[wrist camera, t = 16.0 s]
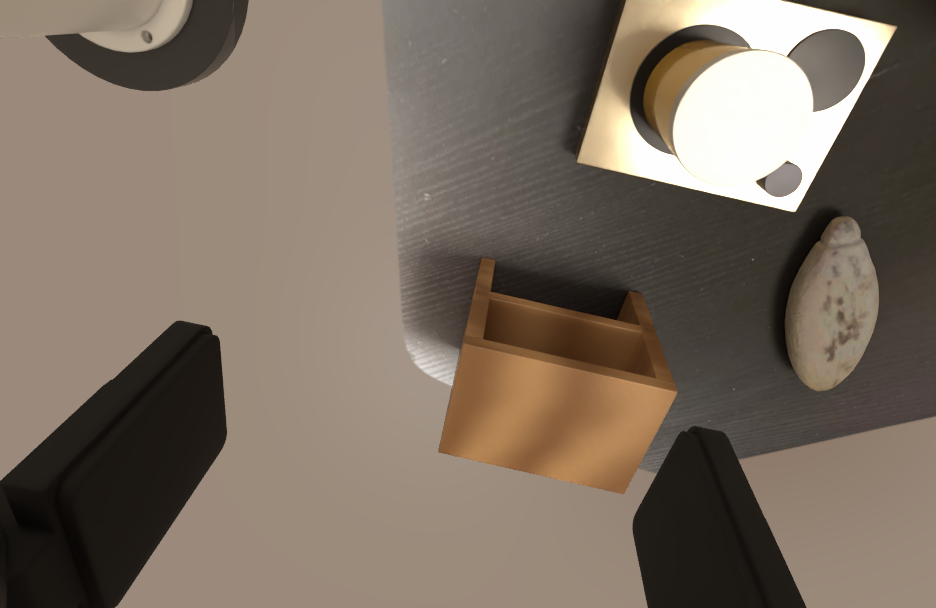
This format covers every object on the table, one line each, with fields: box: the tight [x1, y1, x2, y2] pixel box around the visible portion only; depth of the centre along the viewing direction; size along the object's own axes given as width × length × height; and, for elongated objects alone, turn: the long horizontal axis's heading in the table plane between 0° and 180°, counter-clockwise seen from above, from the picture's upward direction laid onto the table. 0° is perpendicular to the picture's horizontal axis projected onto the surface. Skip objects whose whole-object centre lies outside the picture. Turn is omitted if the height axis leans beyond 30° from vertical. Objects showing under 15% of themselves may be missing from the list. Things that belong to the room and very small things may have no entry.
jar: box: [643, 40, 814, 187], centre depth 30 cm, size 7×7×9 cm
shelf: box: [438, 258, 678, 494], centre depth 41 cm, size 14×10×13 cm
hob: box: [574, 0, 897, 212], centre depth 35 cm, size 16×12×4 cm
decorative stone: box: [785, 216, 879, 391], centre depth 41 cm, size 6×16×3 cm, turn 13°
